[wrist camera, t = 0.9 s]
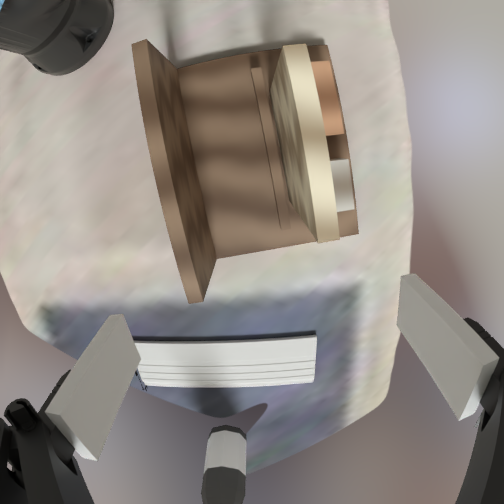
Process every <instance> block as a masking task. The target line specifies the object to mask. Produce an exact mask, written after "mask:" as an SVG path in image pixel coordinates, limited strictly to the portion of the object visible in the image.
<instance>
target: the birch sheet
mask: <svg viewBox="0 0 504 504" xmlns="http://www.w3.org/2000/svg"><path fill="white" fill-rule="evenodd" d="M269 95H270V100H271V105H272V110H273V115H274V120H275V125H276V130H277V135H278V141H279V146H280V151H281V157H282V162H283V168H284V174H285V180H286V185H287V191H288V197H289V201H290V203H291V204H292V206H293V207H294V209H295V210H296V211H297V213H298V214H299V216H300V217H301V219H302V220H303V222H304V223H305V225H306V226H307V228H308V229H309V230H310V232H311V233H312V235H313V236H314V238H315V239H316V241H317V242H318V243H323V242H328V241H334V240H340V236H339V227H338V217H337V209H336V201H335V193H334V185H333V178H332V171H331V165H330V158H329V152H328V146H327V140H326V134H325V129H324V123H323V118H322V113H321V107H320V102H319V98H318V93H317V88H316V83H315V79H314V74H313V70H312V66H311V62H310V57H309V53H308V49H307V45H306V44H295V45H285V46H283V47H282V50H281V53H280V57H279V60H278V64H277V67H276V71H275V74H274V78H273V81H272V85H271V88H270V92H269Z"/></svg>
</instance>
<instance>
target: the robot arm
mask: <svg viewBox="0 0 504 504" xmlns="http://www.w3.org/2000/svg"><path fill="white" fill-rule="evenodd" d="M112 23H113V8H112V5H111V3H110V1H109V0H0V49H2V50H6V51H10V52H14V53H18V54H21V55H24V56H25V57H26V58H27V59H28V61H29V62H30V63H32V64H33V66H34V67H35V68H36V69H37V70H39V71H41V72H43V73H46V74H50V75H56V76H58V75H65V74H68V73H71V72H73V71H75V70H77V69H78V68H80V67H81V66H83V65H84V64H85V63H87V62H88V61H89V60H90V59H91V58H92V57H93V56H94V55H95V54H96V53H97V52H98V50H99V49H100V48H101V46H102V45H103V44H104V42H105V40H106V38H107V37H108V34H109V32H110V30H111V27H112ZM397 326H398V328H399V329H400V331H401V332H402V334H403V335H404V336H405V338H406V339H407V341H408V342H409V344H410V345H411V347H412V348H413V350H414V351H415V352H416V354H417V355H418V357H419V358H420V360H421V361H422V363H423V364H424V366H425V367H426V369H427V371H428V372H429V374H430V375H431V377H432V378H433V380H434V381H435V383H436V385H437V386H438V388H439V389H440V391H441V392H442V394H443V396H444V397H445V399H446V401H447V402H448V404H449V405H450V407H451V409H452V410H453V412H454V414H455V415H456V417H457V419H458V420H461V419H464V418H466V417H468V416H470V415H472V414H474V413H475V411H476V409H477V407H478V405H479V403H481V405H482V406H483V408H484V410H483V412H482V413H481V415H480V417H479V419H478V420H477V422H476V424H475V427H477V426H478V424H479V427H478V432H477V436H476V440H475V444H474V448H473V452H472V456H471V459H470V463H469V466H468V469H467V473H466V476H465V479H464V482H463V485H462V487H461V490H460V493H459V496H458V498H457V501H456V504H504V349H503V348H502V347H501V346H500V344H499V343H498V342H497V341H496V340H495V339H494V338H493V337H491V335H490V334H489V333H488V332H487V331H485V329H484V328H483V327H482V326H480V324H479V323H477V322H475V321H474V320H472V319H470V318H465V319H462V318H461V317H460V316H459V315H458V314H457V313H456V312H455V311H454V310H453V309H452V308H451V307H450V306H449V305H448V304H447V303H446V302H445V301H444V300H443V299H442V298H441V297H440V296H439V295H438V294H437V293H435V292H434V291H433V290H432V289H431V288H430V287H429V286H428V285H427V284H426V283H425V282H424V281H423V280H421V279H420V278H419V277H418V276H417V275H416V274H409V275H404V276H401V282H400V296H399V307H398V317H397ZM140 360H141V357H140V355H139V353H138V350H137V348H136V345H135V343H134V341H133V338H132V336H131V333H130V331H129V328H128V326H127V323H126V321H125V318H124V315H123V314H118V315H110V316H109V317H108V318H107V320H106V321H105V323H104V324H103V325H102V327H101V328H100V329H99V331H98V332H97V334H96V335H95V336H94V338H93V339H92V341H91V342H90V344H89V345H88V346H87V348H86V349H85V351H84V352H83V354H82V355H81V357H80V358H79V360H78V361H77V362H76V364H75V365H74V367H73V369H72V370H69V371H68V372H66V374H64V375H63V376H62V377H61V378H60V380H59V381H58V383H57V384H56V386H55V387H54V389H53V390H52V393H50V395H49V396H48V398H47V400H46V401H45V403H44V404H43V406H42V407H41V409H40V411H39V412H38V413H37V412H36V411H35V409H34V408H33V406H32V405H31V404H30V402H29V401H28V400H26V399H22V398H21V399H17V400H15V401H13V402H11V403H10V404H9V405H8V406H7V408H6V410H5V412H4V416H5V417H6V418H7V420H8V421H9V422H10V423H11V425H12V426H8V425H7V424H6V423H5V422H4V420H3V419H2V418H0V504H94V502H93V500H92V497H91V495H90V493H89V490H88V489H87V486H86V483H85V481H84V478H83V476H82V473H81V471H80V468H79V466H78V463H77V461H76V459H75V458H74V456H73V452H74V450H76V451H77V452H78V453H79V454H80V455H81V456H82V457H83V458H86V459H91V460H95V461H98V460H99V457H100V455H101V452H102V450H103V447H104V445H105V442H106V439H107V437H108V435H109V432H110V430H111V427H112V425H113V422H114V420H115V417H116V415H117V413H118V410H119V407H120V405H121V403H122V401H123V399H124V396H125V394H126V392H127V389H128V387H129V385H130V382H131V380H132V378H133V376H134V373H135V371H136V369H137V367H138V365H139V362H140ZM7 462H9V463H10V464H11V465H12V471H10V470H9V469H8V468H7Z"/></svg>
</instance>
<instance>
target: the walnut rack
mask: <svg viewBox="0 0 504 504" xmlns="http://www.w3.org/2000/svg"><path fill="white" fill-rule="evenodd" d="M307 49H308V53H309V57H310V62H317V61H330V66H331V70H332V74H333V78H334V83H335V87H336V92H337V97H338V102H339V107H340V112H341V117H342V123H343V128H344V134H338V135H331V136H326V140H327V146H328V152H329V158H330V159H334V158H344V159H348V160H349V167H350V174H351V182H352V190H353V199H354V208H355V209H353V210H347V211H340V212H337V217H338V227H339V236H340V237H344V236H350V235H356V234H359V233H358V221H357V210H356V201H355V192H354V183H353V176H352V168H351V161H350V154H349V148H348V141H347V135H346V129H345V124H344V118H343V113H342V108H341V103H340V98H339V93H338V88H337V84H336V79H335V75H334V70H333V66H332V62H331V58H330V54H329V50H328V46H327V45H315V46H307ZM281 50H282V48H281V49H273V50H265V51H258V52H252V53H246V54H240V55H235V56H229V57H224V58H219V59H215V60H210V61H206V62H202V63H198V64H194V65H190V66H186V67H182V68H178V69H177V68H176V67H175V66H174V65H173V64H172V63H171V62H170V61H169V60H168V59H167V58H166V57H165V56H163V55H162V54H161V53H160V52H159V51H158V50H157V49H156V48H155V47H154V46H153V45H152V44H151V43H150V42H149V41H148V40H147V39H145V40H142V41H139V42H137V43H134V44H132V52H133V60H134V67H135V74H136V80H137V87H138V93H139V99H140V105H141V111H142V116H143V122H144V127H145V132H146V138H147V143H148V148H149V152H150V157H151V162H152V167H153V171H154V176H155V180H156V184H157V189H158V193H159V197H160V201H161V206H162V210H163V214H164V218H165V222H166V226H167V229H168V233H169V237H170V241H171V244H172V248H173V252H174V255H175V259H176V263H177V266H178V270H179V273H180V276H181V280H182V283H183V287H184V290H185V293H186V296H187V300H188V303H189V304H191V303H198V302H203V301H204V297H205V294H206V291H207V288H208V285H209V282H210V278H211V275H212V272H213V269H214V266H215V263H216V260H217V259H219V258H225V257H231V256H236V255H242V254H248V253H254V252H259V251H265V250H271V249H276V248H282V247H288V246H293V245H299V244H305V243H310V242H316V239H315V238H314V236H313V235H312V233H311V232H310V230H309V229H308V228H307V226H306V225H305V223H304V222H303V220H302V219H301V217H300V216H299V214H298V213H297V211H296V210H295V209H294V207H293V206H292V204H291V203H290V201H289V197H288V191H287V185H286V180H285V174H284V168H283V162H282V157H281V151H280V146H279V141H278V135H277V130H276V125H275V120H274V115H273V110H272V105H271V100H270V95H269V92H270V88H271V85H272V81H273V78H274V74H275V71H276V67H277V64H278V60H279V57H280V53H281Z"/></svg>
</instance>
